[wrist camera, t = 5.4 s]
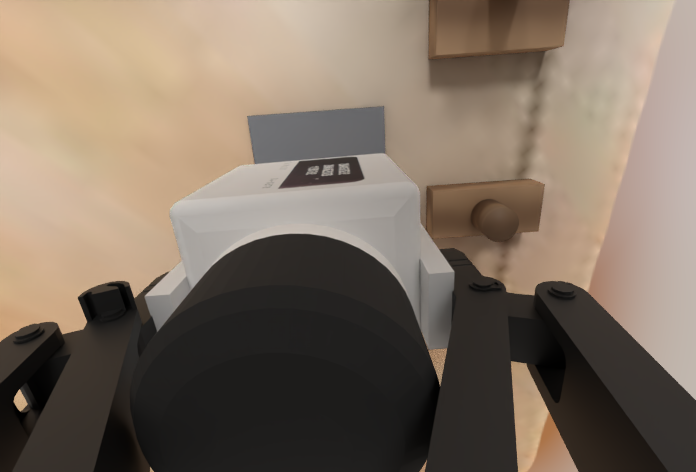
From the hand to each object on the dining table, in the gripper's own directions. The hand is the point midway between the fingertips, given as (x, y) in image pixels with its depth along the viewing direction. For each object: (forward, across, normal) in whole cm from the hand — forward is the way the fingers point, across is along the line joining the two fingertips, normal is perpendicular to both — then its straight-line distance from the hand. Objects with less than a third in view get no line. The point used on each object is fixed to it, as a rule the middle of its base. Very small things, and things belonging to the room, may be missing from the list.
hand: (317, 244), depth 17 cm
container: (+2, 0, 0) cm, 2 cm away
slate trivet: (+17, -1, 0) cm, 17 cm away
